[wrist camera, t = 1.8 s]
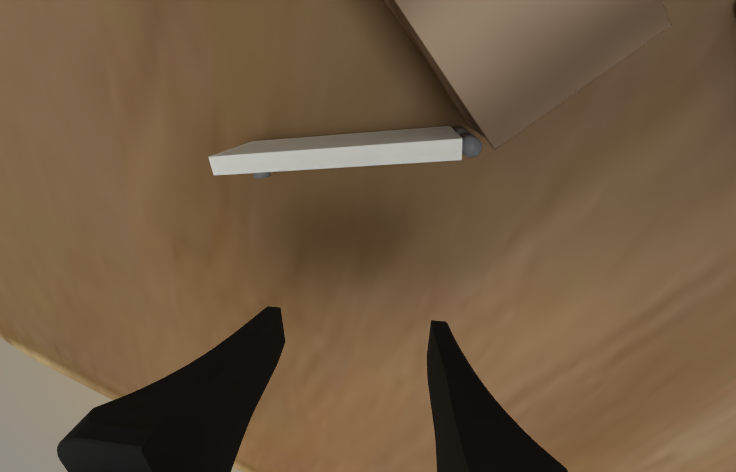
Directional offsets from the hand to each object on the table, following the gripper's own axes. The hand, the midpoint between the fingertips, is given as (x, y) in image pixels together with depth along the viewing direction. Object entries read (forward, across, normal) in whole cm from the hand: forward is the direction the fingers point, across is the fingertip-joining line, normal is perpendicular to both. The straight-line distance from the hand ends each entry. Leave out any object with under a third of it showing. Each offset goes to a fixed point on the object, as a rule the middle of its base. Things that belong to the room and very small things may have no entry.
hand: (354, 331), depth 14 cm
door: (+10, +1, -6) cm, 12 cm away
